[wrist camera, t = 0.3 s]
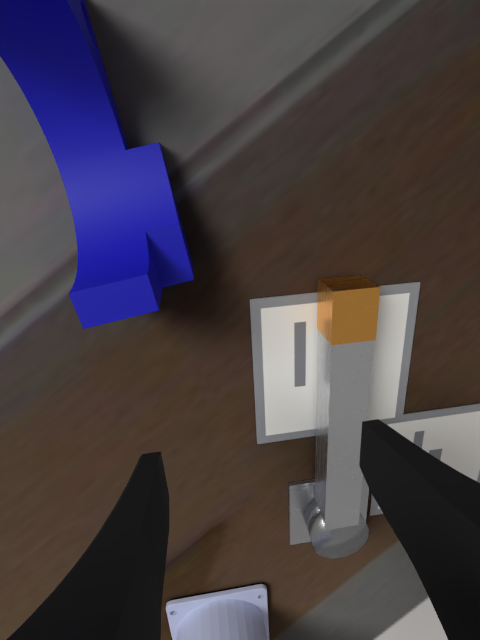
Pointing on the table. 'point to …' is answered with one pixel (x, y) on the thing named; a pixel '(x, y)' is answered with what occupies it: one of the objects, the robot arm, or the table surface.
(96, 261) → the blue cradle mount
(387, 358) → the label
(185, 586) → the table surface
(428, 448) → the label
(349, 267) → the table surface
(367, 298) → the orange-tipped grey bar
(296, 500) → the pivot base
